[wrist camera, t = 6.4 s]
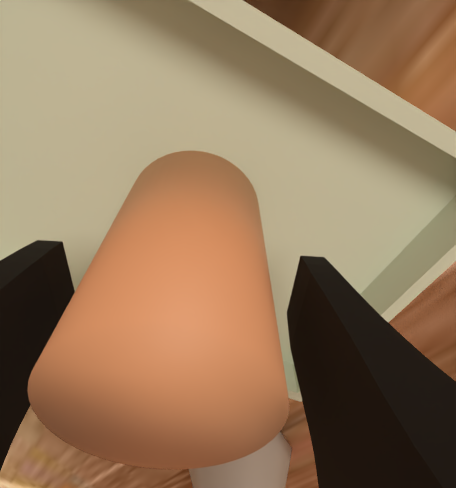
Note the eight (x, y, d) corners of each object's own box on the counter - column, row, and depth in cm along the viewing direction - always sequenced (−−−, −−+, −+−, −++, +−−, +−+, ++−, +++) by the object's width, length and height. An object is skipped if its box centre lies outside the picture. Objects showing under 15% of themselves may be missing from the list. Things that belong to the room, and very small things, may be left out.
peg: (265, 153, 10) (310, 329, 5) (253, 266, 13) (273, 471, 7) (121, 147, 10) (-14, 320, 5) (137, 261, 13) (62, 467, 7)
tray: (483, 153, 11) (539, 183, 9) (292, 355, 18) (301, 401, 15) (-31, -163, 7) (-130, -230, 5) (-48, 242, 14) (-98, 284, 11)
